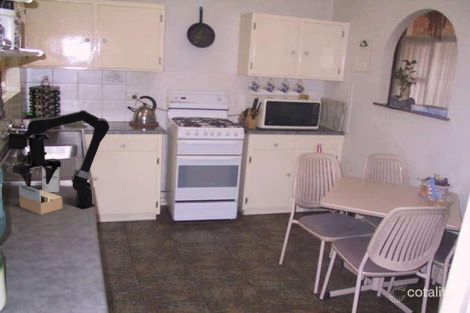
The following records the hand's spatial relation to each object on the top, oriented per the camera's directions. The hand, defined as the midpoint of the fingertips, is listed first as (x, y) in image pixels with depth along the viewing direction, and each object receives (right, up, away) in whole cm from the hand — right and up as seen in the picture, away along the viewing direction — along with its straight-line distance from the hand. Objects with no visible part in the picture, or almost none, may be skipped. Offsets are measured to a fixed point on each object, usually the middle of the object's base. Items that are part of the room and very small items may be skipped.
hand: (38, 186), depth 183 cm
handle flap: (-1, -2, -4) cm, 5 cm away
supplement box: (-5, -4, +25) cm, 26 cm away
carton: (+1, -10, +1) cm, 10 cm away
